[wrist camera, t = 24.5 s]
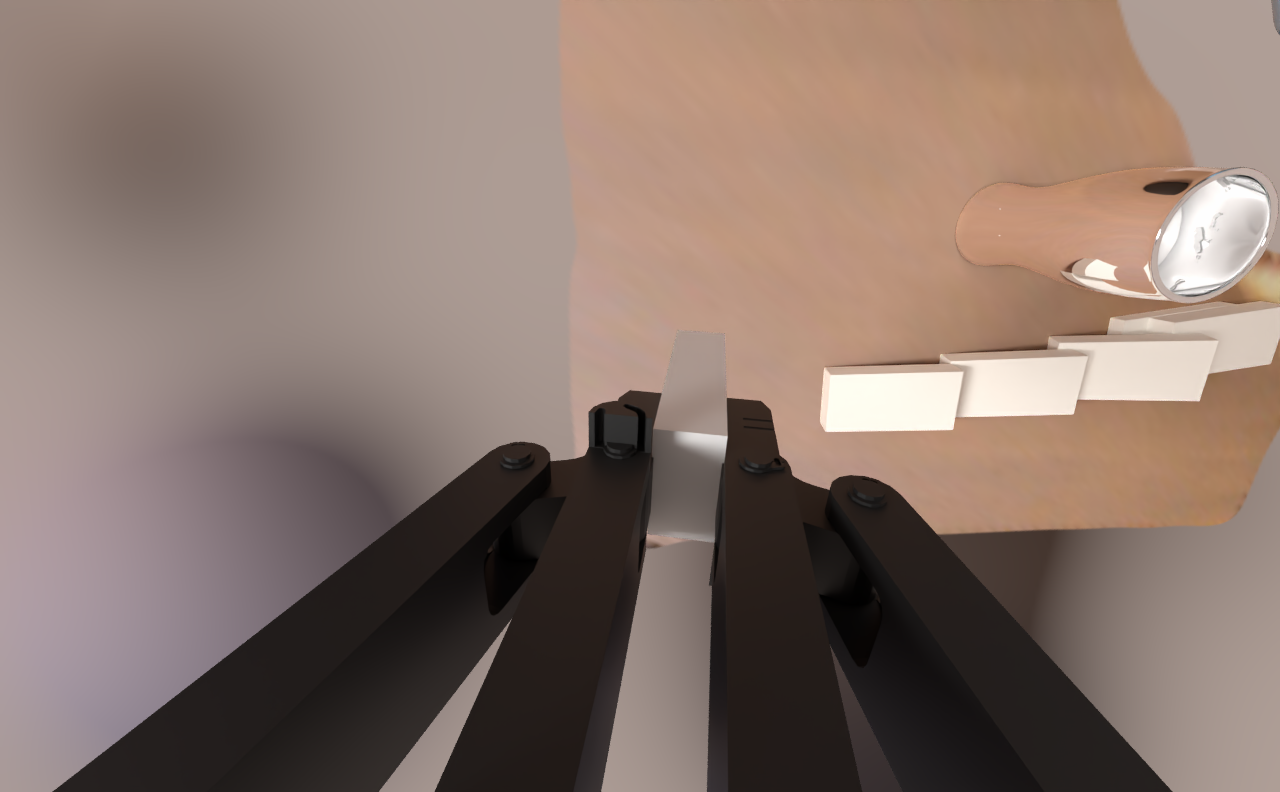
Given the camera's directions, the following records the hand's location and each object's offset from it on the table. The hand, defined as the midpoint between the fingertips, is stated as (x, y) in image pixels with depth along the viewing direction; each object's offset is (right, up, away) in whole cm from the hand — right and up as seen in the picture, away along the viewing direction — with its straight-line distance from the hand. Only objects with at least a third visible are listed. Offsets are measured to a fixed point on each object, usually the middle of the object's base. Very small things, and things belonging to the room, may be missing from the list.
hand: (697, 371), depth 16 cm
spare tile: (+14, -1, +26) cm, 29 cm away
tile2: (+24, 0, +26) cm, 36 cm away
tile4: (+41, +3, +26) cm, 49 cm away
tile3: (+33, +2, +27) cm, 43 cm away
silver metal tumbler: (+25, +13, +23) cm, 37 cm away
